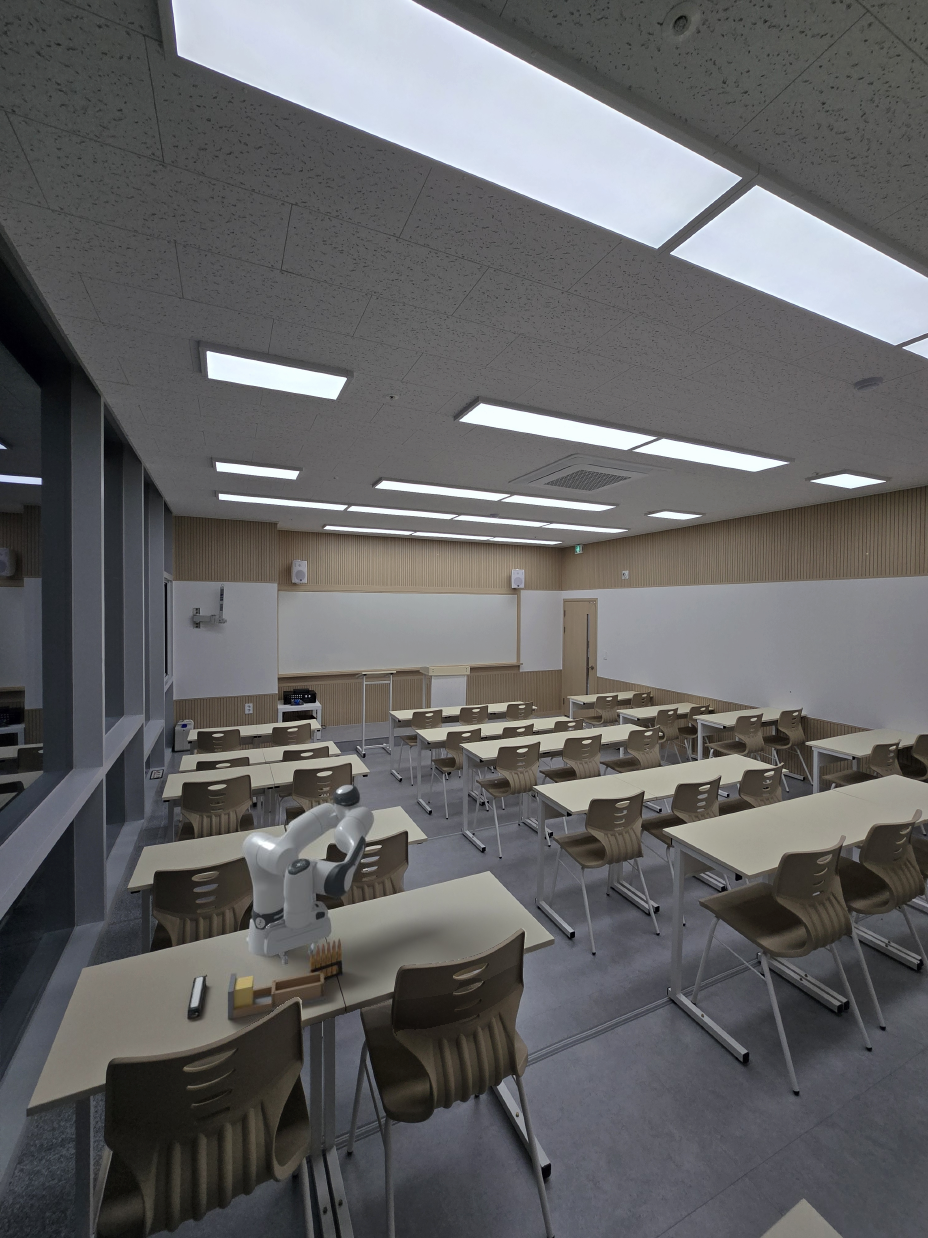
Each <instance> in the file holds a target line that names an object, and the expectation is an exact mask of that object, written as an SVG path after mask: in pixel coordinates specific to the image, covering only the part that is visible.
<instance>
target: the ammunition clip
mask: <svg viewBox="0 0 928 1238" xmlns="http://www.w3.org/2000/svg"><path fill="white" fill-rule="evenodd" d="M342 954H343V952H342V942H341V938H338V940H337V945H336V941H335V940H333V941H332V944H331V943H330V941H328V942H327V945H325V944H324V942H323V943H322V945H321V951H320V946H319V944H317V946H316V948H315V954H313V955H310V957H309V958H310V959H309V971H308V974H309V973H314V972H319V971H323V974H324V981H327V980H330V979H333V978H336V977H339V976H343V959H342V957H343V956H342Z"/></svg>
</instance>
